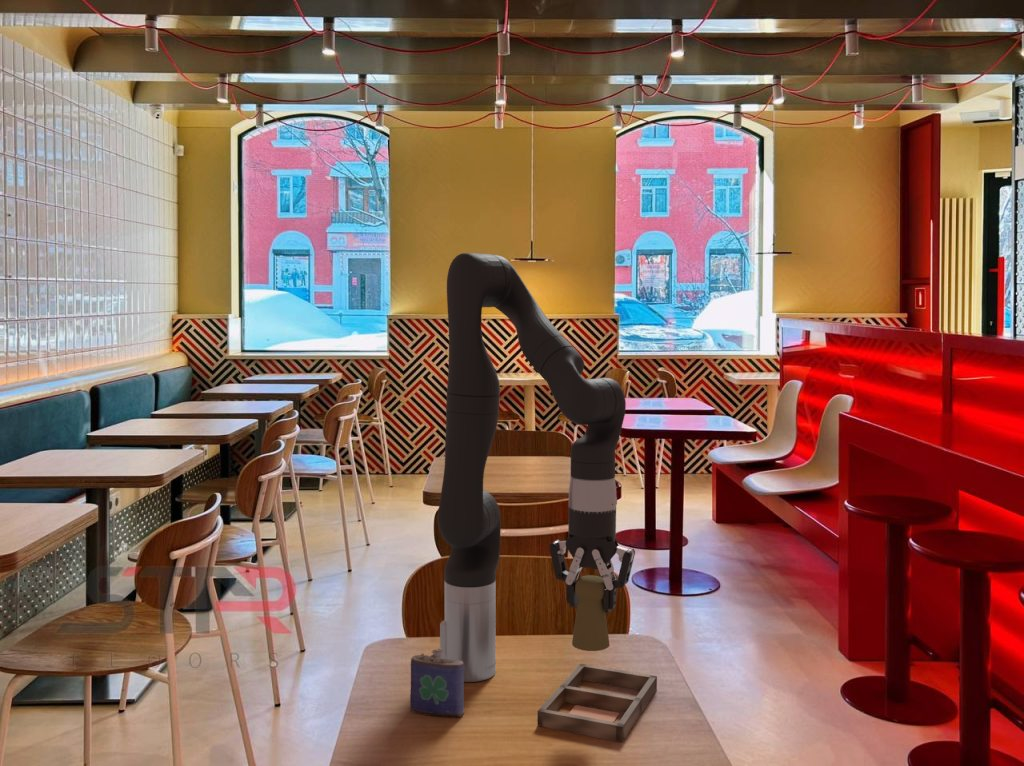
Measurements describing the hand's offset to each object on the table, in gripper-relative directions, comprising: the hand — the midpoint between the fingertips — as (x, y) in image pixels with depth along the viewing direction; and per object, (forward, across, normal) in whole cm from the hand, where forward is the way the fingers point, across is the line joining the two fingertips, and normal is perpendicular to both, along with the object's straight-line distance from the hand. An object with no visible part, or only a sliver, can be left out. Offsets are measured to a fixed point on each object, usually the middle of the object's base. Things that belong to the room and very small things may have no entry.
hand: (591, 608), depth 154 cm
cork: (+6, 0, 0) cm, 6 cm away
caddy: (+19, 0, +5) cm, 19 cm away
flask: (+19, -24, -8) cm, 31 cm away
